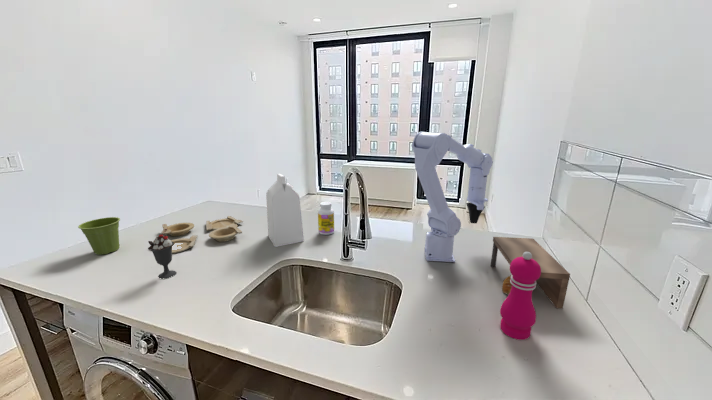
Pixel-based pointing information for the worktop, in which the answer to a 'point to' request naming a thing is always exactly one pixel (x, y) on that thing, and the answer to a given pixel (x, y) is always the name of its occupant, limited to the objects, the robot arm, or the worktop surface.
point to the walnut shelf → (551, 271)
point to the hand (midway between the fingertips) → (473, 222)
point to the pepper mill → (520, 298)
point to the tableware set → (221, 227)
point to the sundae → (163, 254)
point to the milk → (283, 213)
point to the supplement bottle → (325, 219)
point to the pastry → (507, 285)
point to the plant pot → (102, 234)
